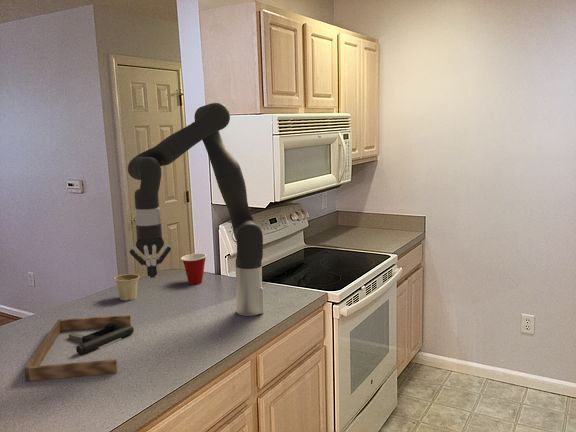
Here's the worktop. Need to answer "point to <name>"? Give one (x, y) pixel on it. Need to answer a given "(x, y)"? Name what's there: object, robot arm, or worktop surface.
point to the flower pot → (127, 286)
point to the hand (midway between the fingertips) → (152, 277)
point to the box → (72, 369)
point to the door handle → (101, 337)
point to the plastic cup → (194, 267)
